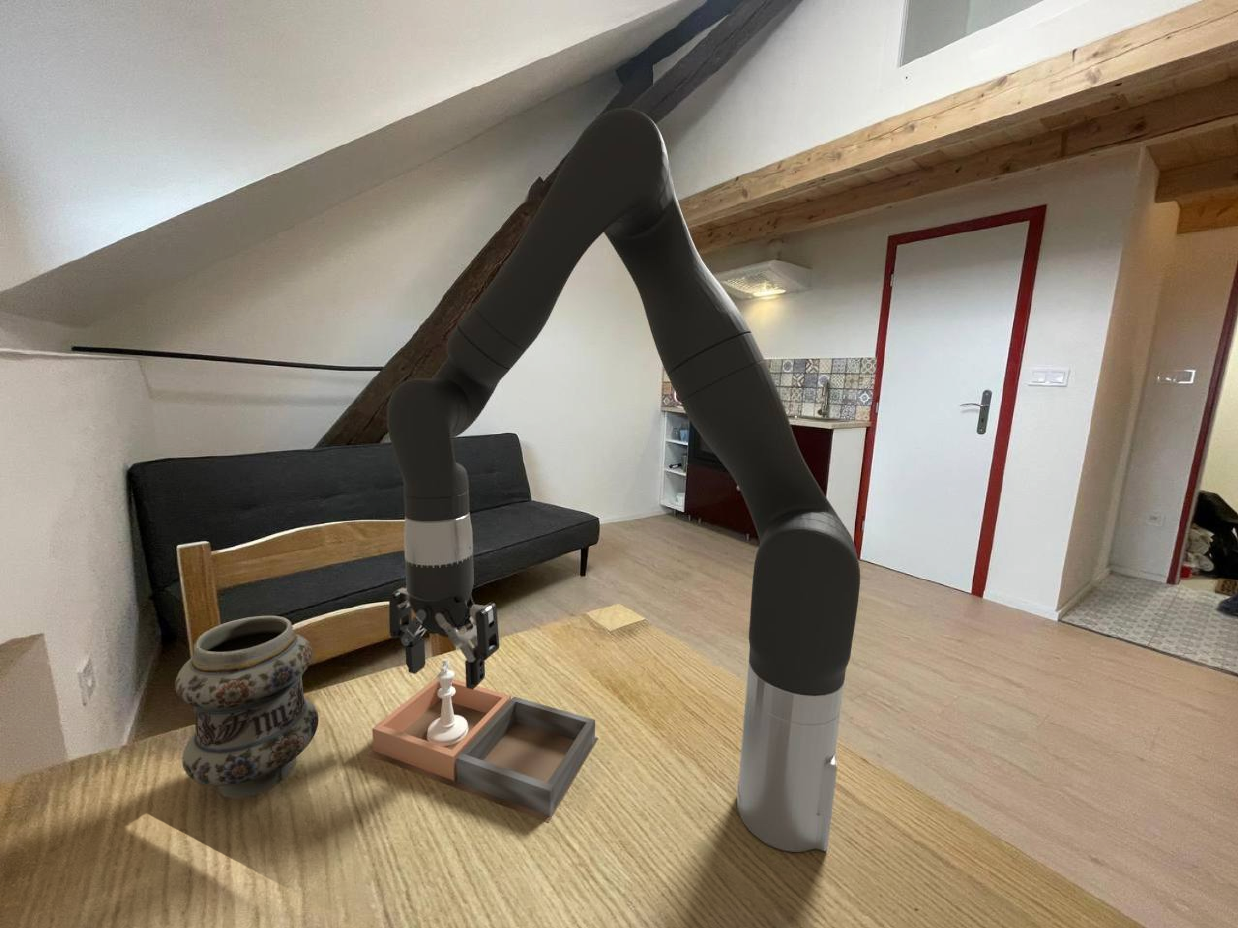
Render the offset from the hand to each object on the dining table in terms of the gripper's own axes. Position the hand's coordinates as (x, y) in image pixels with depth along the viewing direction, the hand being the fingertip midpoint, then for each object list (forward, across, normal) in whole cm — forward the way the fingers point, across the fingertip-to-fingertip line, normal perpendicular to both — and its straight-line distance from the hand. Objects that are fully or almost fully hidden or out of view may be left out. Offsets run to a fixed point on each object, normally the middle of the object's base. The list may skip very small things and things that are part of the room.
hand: (444, 677), depth 61 cm
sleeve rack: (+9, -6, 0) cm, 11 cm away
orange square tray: (+8, 0, 0) cm, 8 cm away
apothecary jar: (+9, +15, +13) cm, 22 cm away
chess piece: (+8, 0, 0) cm, 8 cm away
